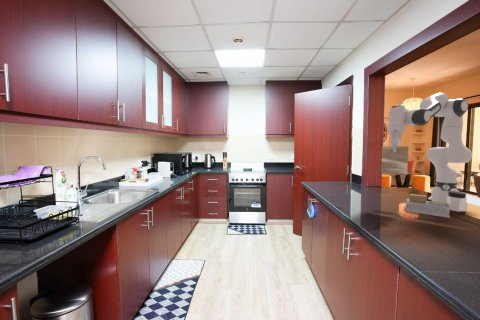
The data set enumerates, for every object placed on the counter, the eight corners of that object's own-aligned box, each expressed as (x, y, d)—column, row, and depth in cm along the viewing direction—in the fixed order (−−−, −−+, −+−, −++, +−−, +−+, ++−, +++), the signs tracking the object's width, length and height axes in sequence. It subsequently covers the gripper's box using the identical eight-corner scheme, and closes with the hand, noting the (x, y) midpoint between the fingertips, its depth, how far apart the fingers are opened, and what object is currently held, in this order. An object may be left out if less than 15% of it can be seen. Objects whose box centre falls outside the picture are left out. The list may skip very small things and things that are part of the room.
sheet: (381, 173, 161) (382, 146, 160) (406, 174, 153) (408, 146, 152) (381, 173, 160) (382, 146, 159) (406, 175, 151) (408, 146, 150)
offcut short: (430, 211, 143) (431, 200, 142) (444, 213, 139) (445, 201, 138) (430, 212, 141) (431, 200, 140) (444, 214, 137) (445, 202, 137)
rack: (407, 207, 156) (407, 197, 156) (447, 213, 144) (448, 202, 144) (405, 213, 144) (405, 202, 143) (449, 220, 131) (450, 208, 131)
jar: (466, 212, 147) (468, 192, 146) (464, 214, 142) (465, 194, 141) (447, 209, 154) (448, 190, 153) (444, 211, 149) (445, 192, 148)
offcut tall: (409, 208, 149) (410, 194, 148) (425, 210, 144) (426, 196, 143) (409, 209, 147) (409, 194, 147) (425, 211, 143) (426, 196, 142)
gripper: (400, 129, 144) (399, 153, 145) (403, 131, 160) (402, 151, 161) (388, 130, 148) (387, 152, 149) (392, 131, 164) (391, 151, 165)
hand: (394, 152), depth 155 cm, fingers closed on sheet, 2 cm apart
